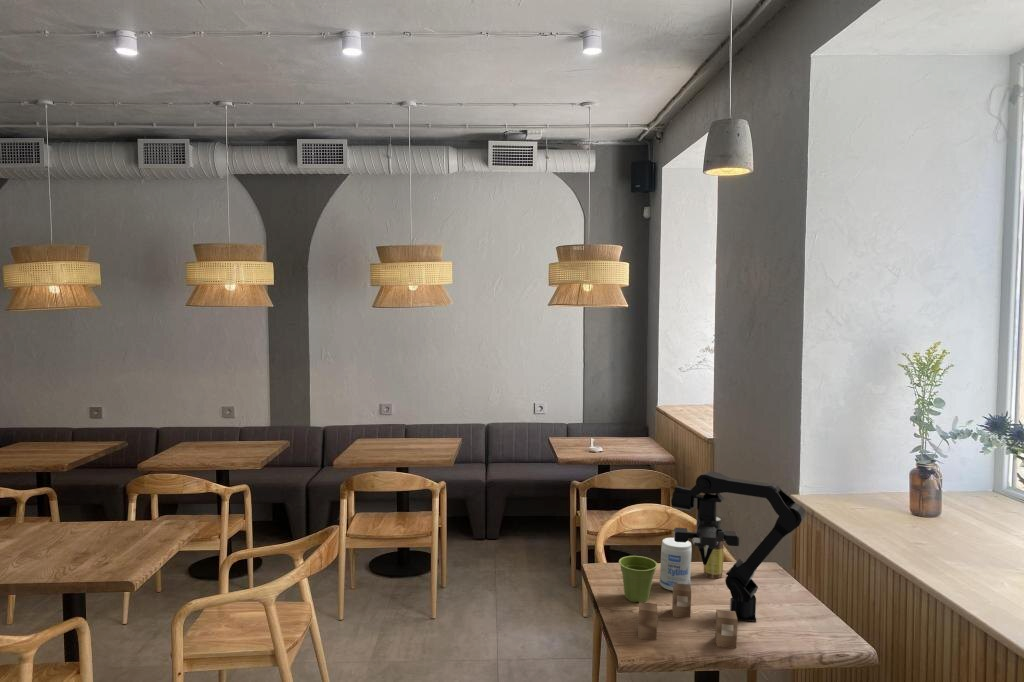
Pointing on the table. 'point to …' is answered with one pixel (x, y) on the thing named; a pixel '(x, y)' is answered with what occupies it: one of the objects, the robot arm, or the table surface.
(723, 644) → the marked block
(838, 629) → the table surface
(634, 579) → the plant pot
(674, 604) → the marked block
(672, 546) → the supplement tub
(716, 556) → the sauce bottle
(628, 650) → the table surface
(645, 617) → the plain block
